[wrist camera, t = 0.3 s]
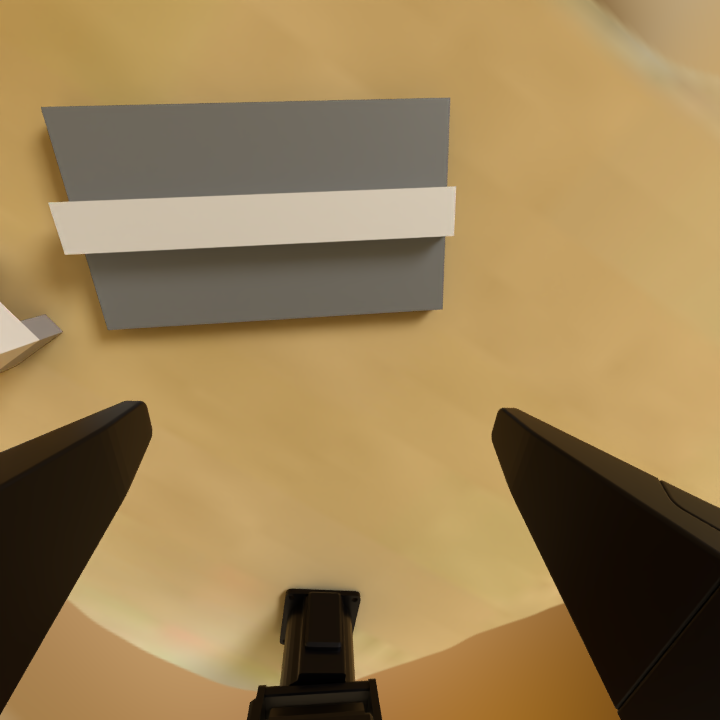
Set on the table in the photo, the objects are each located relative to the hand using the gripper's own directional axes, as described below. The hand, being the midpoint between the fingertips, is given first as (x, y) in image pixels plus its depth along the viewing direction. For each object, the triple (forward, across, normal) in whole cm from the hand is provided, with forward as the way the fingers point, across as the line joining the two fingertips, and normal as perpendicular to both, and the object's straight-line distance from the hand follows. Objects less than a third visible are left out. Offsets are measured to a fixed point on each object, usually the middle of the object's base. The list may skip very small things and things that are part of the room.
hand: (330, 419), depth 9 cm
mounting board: (+14, +4, -4) cm, 15 cm away
